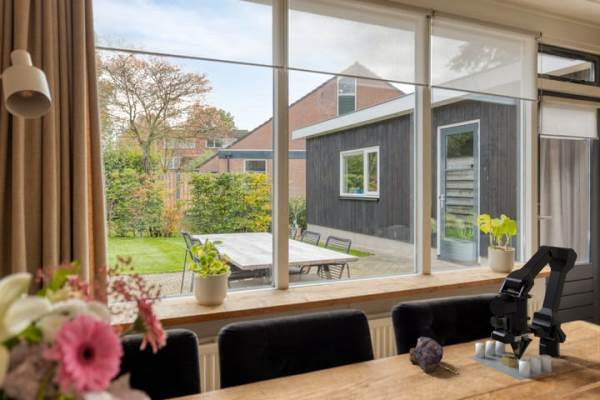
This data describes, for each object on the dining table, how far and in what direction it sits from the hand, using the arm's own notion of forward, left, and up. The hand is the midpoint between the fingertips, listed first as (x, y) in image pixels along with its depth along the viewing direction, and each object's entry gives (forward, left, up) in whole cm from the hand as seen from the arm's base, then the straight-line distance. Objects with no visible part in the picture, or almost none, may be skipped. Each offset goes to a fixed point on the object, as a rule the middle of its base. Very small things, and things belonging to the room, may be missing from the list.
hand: (517, 359), depth 141 cm
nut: (+4, 0, -1) cm, 4 cm away
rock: (+27, -13, -2) cm, 30 cm away
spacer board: (+3, -1, -2) cm, 4 cm away
